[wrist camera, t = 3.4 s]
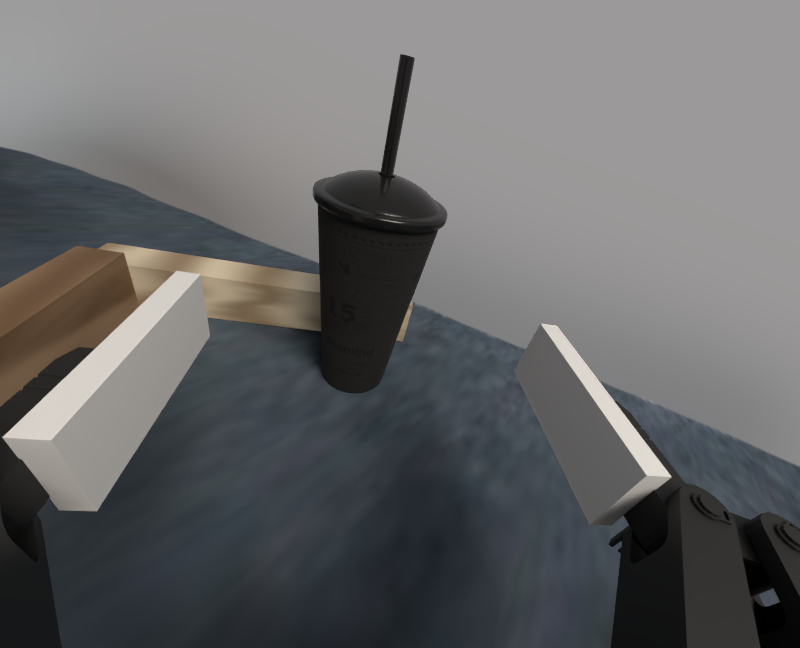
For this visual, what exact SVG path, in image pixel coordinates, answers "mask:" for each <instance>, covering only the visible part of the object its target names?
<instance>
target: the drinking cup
mask: <svg viewBox="0 0 800 648" xmlns="http://www.w3.org/2000/svg"><path fill="white" fill-rule="evenodd" d="M413 65H414V58H413V57H410V56H407V55H402V54H401V55H400V60H399V66H398V72H397V78H396V84H395V91H394V96H393V102H392V108H391V114H390V121H389V126H388V132H387V138H386V144H385V150H384V156H383V162H382V168H381V171H373V170H358V171H351V172H346V173H343V174H339V175H337V176H334V177H329V178H324V179H321V180H319V181H317V182H316V183H315V184H314V186H313V197H314V199H315V201H316V202H317V203H318V227H319V269H320V310H321V350H322V373H323V376H324V378H325V379H326V381H327V382H328V383H329V384H330V385H331V386H333V387H335V388H336V389H338V390H341V391H344V392H349V393H361V392H366V391H369V390H371V389H373V388H374V387H376V386H377V385H378V384H379V383H380V381H381V379H382V376H383V374H384V371H385V368H386V366H387V363H388V361H389V358H390V355H391V353H392V350H393V347H394V345H395V342H396V339H397V337H398V334H399V332H400V329H401V326H402V324H403V321H404V318H405V316H406V313H407V310H408V308H409V305H410V303H411V300H412V297H413V295H414V292H415V289H416V287H417V284H418V282H419V279H420V276H421V273H422V271H423V268H424V266H425V263H426V260H427V257H428V255H429V252H430V250H431V247H432V245H433V242H434V239H435V237H436V234H437V231H438V229H440V228H442V227H443V226H444V224H445V222H446V219H447V211H446V209H445V208H444V207H443V206H442V205H441V204H440V203H438V202H437V201H435V200H434V199H433V198H431V196H430V195H429V194H428V193H427V192H426V191H424V190H423V189H422V188H420V187H419V186H417V185H416V184H414V183H413V182H411V181H409V180H407V179H405V178H402V177H399V176H397V175H394V174H393V172H394V167H395V161H396V156H397V151H398V145H399V140H400V135H401V129H402V124H403V118H404V113H405V107H406V102H407V97H408V91H409V85H410V80H411V76H412V70H413Z"/></svg>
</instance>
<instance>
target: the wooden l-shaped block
mask: <svg viewBox="0 0 800 648" xmlns="http://www.w3.org/2000/svg"><path fill="white" fill-rule="evenodd" d="M176 271H182V272H189V273H196V274H201V279H202V286H203V293H204V299H205V306H206V313H207V318H215V319H223V320H232V321H240V322H248V323H256V324H264V325H272V326H281V327H289V328H297V329H305V330H313V331H321V310H320V275H317V274H311V273H304V272H297V271H291V270H284V269H278V268H271V267H264V266H258V265H251V264H245V263H238V262H232V261H225V260H218V259H212V258H205V257H199V256H192V255H186V254H179V253H172V252H166V251H159V250H153V249H146V248H140V247H133V246H126V245H120V244H113V243H107V244H105V245H103V246H102V247H100V248H98V249H94V248H88V247H81V246H76V247H74V248H72V249H70V250H69V251H67V252H65V253H63V254H61V255H59V256H58V257H56V258H54V259H52V260H50V261H49V262H47V263H45V264H43V265H41V266H40V267H38V268H36V269H34V270H32V271H31V272H29V273H27V274H25V275H23V276H21V277H20V278H18V279H16V280H14V281H12V282H11V283H9V284H7V285H5V286H3V287H2V288H0V407H1V406H2V405H3V404H4V403H5V402H6V401H8V400H9V399H10V398H11V397H12V396H13V395H15V394H16V393H17V392H18V391H19V390H21V391H22V390H23V387H24V386H25V385H26V384H27V383H28V382H29V381H31V380H32V379H33V378H34V377H38V374H39V373H40V372H41V371H42V370H43V369H44V368H46V367H47V366H48V365H49V364H50V363H51V362H52V361H54V360H55V359H56V358H58V357H60V356H62V355H64V354H66V353H68V352H70V351H72V350H74V349H76V348H78V347H85V348H94V349H95V348H96V347H97V346H98V345H100V344H101V343H102V342H103V341H104V340H105V339H106V338H107V337H108V336H109V335H110V334H111V333H112V332H113V331H114V330H115V329H116V328H117V327H118V326H119V325H120V324H121V323H123V322H124V321H125V320H126V319H127V318H128V317H129V316H130V315H131V314H132V313H133V312H134V311H135V310H136V309H137V308H138V307H139V306H140V305H141V304H142V303H143V302H145V301H146V300H147V299H148V298H149V297H150V296H151V295H152V294H153V293H154V292H155V291H156V290H157V289H158V288H159V287H160V286H161V285H162V284H163V283H164V282H165V281H166V280H168V279H169V278H170V277H171V276H172V275H173V274H174V273H175V272H176ZM412 307H413V305H412V300H411V303H410V305H409V308H408V310H407V313H406V316H405V318H404V321H403V324H402V326H401V329H400V332H399V334H398V337H397V339H396V341H403V339H404V336H405V332H406V328H407V325H408V321H409V318H410V314H411V310H412Z"/></svg>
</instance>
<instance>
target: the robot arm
mask: <svg viewBox="0 0 800 648" xmlns="http://www.w3.org/2000/svg"><path fill="white" fill-rule="evenodd" d="M209 337H210V333H209V326H208V319H207V313H206V306H205V299H204V293H203V286H202V279H201V274H196V273H189V272H182V271H176V272H175V273H174V274H173V275H172V276H171V277H170V278H169V279H168V280H166V281H165V282H164V283H163V284H162V285H161V286H160V287H159V288H158V289H157V290H156V291H155V292H154V293H153V294H152V295H151V296H150V297H149V298H148V299H147V300H146V301H145V302H143V303H142V304H141V305H140V306H139V307H138V308H137V309H136V310H135V311H134V312H133V313H132V314H131V315H130V316H129V317H128V318H127V319H126V320H125V321H124V322H123V323H121V324H120V325H119V326H118V327H117V328H116V329H115V330H114V331H113V332H112V333H111V334H110V335H109V336H108V337H107V338H106V339H105V340H104V341H103V342H102V343H101V344H100V345H98V346H97V347H96V348H95V349H94V348H85V347H78V348H76V349H74V350H72V351H70V352H68V353H66V354H64V355H62V356H60V357H58V358H56V359H55V360H54V361H52V362H51V363H50V364H49V365H48V366H47V367H46V368H44V369H43V370H42V371H41V372H40V373H39V374H38V377H34V378H33V379H32V380H31V381H29V382H28V383H27V384H26V385H25V386H24V387H23V390H22V391H21V390H19V391H18V392H17V393H16V394H15V395H13V396H12V397H11V398H10V399H9V400H8V401H6V402H5V403H4V404H3V405H2V406H1V407H0V648H62V647H61V641H60V635H59V629H58V623H57V617H56V611H55V604H54V598H53V592H52V586H51V580H50V574H49V568H48V562H47V555H46V549H45V543H44V537H43V531H42V525H41V520H40V519H39V517H38V515H37V512H38V511H39V510H40V509H41V507H42V506H43V505H44V504H45V502H46V501H47V500H48V498H50V499H51V501H52V502H53V503H54V505H55V506H56V507H57V508H58V510H67V511H97V510H98V509H99V507H100V506H101V504H102V503H103V501H104V500H105V498H106V496H107V495H108V493H109V492H110V490H111V489H112V487H113V486H114V484H115V482H116V481H117V479H118V478H119V476H120V475H121V473H122V472H123V470H124V469H125V467H126V465H127V464H128V462H129V461H130V459H131V458H132V456H133V455H134V453H135V451H136V450H137V448H138V447H139V445H140V444H141V442H142V441H143V439H144V437H145V436H146V434H147V433H148V431H149V430H150V428H151V427H152V425H153V424H154V422H155V420H156V419H157V417H158V416H159V414H160V413H161V411H162V410H163V408H164V406H165V405H166V403H167V402H168V400H169V399H170V397H171V396H172V394H173V392H174V391H175V389H176V388H177V386H178V385H179V383H180V382H181V380H182V379H183V377H184V375H185V374H186V372H187V371H188V369H189V368H190V366H191V365H192V363H193V361H194V360H195V358H196V357H197V355H198V354H199V352H200V351H201V349H202V347H203V346H204V344H205V343H206V341H207V340H208V338H209ZM514 372H515V374H516V376H517V378H518V380H519V382H520V384H521V386H522V388H523V390H524V392H525V394H526V396H527V398H528V400H529V402H530V404H531V407H532V409H533V411H534V413H535V415H536V417H537V419H538V421H539V423H540V425H541V427H542V429H543V431H544V433H545V435H546V437H547V439H548V441H549V443H550V445H551V447H552V449H553V451H554V453H555V455H556V457H557V459H558V462H559V464H560V466H561V468H562V470H563V472H564V474H565V476H566V478H567V480H568V482H569V484H570V486H571V488H572V490H573V492H574V494H575V496H576V498H577V500H578V502H579V504H580V506H581V508H582V510H583V512H584V514H585V516H586V519H587V521H588V523H589V525H612V524H614V523H615V522H616V521H617V520H619V519H620V518H621V517H622V516H624V517H625V519H626V520H627V522H628V524H629V526H628V527H626V528H625V529H624V530H623V531H621V532H620V533H619V534H617V535H616V536H615V537H613V538H612V539H611V540H610V542H609V545H610V546H611V547H613V546H615V545H616V544H617V543H619V542H620V541H622V548H620V549H619V550H618V552H620V553H621V558H620V567H619V576H618V586H617V595H616V604H615V614H614V623H613V632H612V642H611V648H800V528H798V527H796V525H794V524H793V523H791V522H789V521H788V520H786V519H784V518H782V517H780V516H778V515H776V514H772V513H769V512H767V513H762V514H760V515H758V516H757V517H755V518H753V519H751V520H749V519H746V518H743V517H741V516H738V515H735V514H733V513H730V512H729V511H728V510H727V509H726V507H725V506H724V505H723V504H722V503H721V502H720V501H719V500H717V499H716V498H715V497H714V496H713V495H711V494H710V493H708V492H707V491H705V490H704V489H702V488H699V487H697V486H695V485H690V484H686V483H685V482H684V481H683V480H682V479H681V477H680V476H679V475H678V473H677V472H676V471H675V470H674V468H673V467H672V466H671V465H670V463H669V462H668V461H667V459H666V458H665V457H664V456H663V454H662V453H661V452H660V450H659V449H658V448H657V447H656V445H655V444H654V443H653V441H650V440H649V436H648V435H647V434H646V433H645V431H644V430H643V429H641V426H640V425H639V424H638V422H637V421H636V420H635V418H634V417H633V416H632V415H631V413H629V412H628V411H627V410H626V409H625V408H624V407H623V406H621V405H620V404H619V403H618V402H617V401H614V400H613V399H612V398H611V396H610V395H609V394H608V392H607V391H606V390H605V388H604V387H603V386H602V384H601V383H600V382H599V381H598V379H597V378H596V377H595V375H594V374H593V373H592V371H591V370H590V369H589V367H588V366H587V365H586V363H585V362H584V361H583V360H582V358H581V357H580V356H579V354H578V353H577V352H576V350H575V349H574V348H573V346H572V345H571V344H570V342H569V341H568V340H567V338H566V337H565V336H564V334H563V333H562V332H561V331H560V329H559V328H558V327H557V326H555V325H547V324H540V326H539V327H538V329H537V331H536V333H535V334H534V336H533V338H532V340H531V342H530V343H529V345H528V347H527V349H526V350H525V352H524V354H523V356H522V358H521V359H520V361H519V363H518V365H517V366H516V368H515V370H514ZM773 588H774V590H775V592H776V594H777V596H778V598H779V600H780V602H779V603H777V604H774V605H771V606H767V607H766V606H764V604H763V603H762V601H761V599H760V597H759V594H761V593H763V592H765V591H768V590H770V589H773Z"/></svg>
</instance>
